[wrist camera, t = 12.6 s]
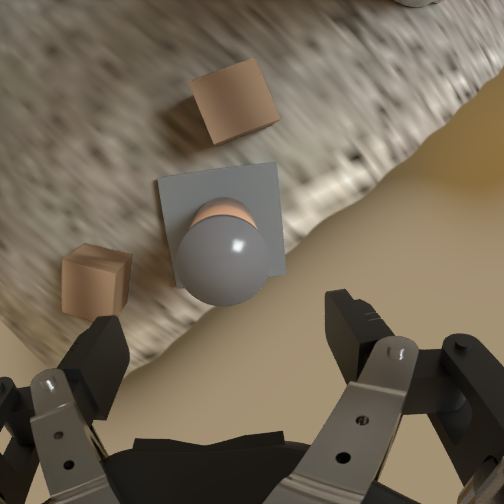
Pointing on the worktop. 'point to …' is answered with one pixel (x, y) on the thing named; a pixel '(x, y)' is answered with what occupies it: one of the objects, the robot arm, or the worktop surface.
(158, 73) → the worktop surface
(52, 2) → the worktop surface
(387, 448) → the robot arm
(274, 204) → the coaster
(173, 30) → the worktop surface
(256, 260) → the tan jar
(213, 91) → the block
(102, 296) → the block
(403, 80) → the worktop surface
